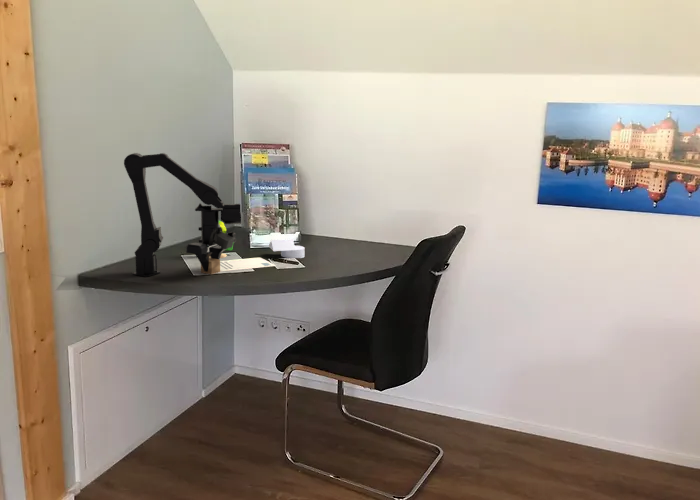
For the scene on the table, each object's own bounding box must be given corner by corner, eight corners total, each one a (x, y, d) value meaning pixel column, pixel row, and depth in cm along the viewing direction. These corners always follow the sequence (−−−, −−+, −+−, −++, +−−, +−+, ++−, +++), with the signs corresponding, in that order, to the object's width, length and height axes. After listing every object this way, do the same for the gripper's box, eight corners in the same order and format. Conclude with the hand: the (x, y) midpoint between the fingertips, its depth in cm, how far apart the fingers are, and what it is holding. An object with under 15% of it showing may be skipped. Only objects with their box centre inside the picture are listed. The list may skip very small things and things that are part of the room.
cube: (211, 275, 208) (211, 261, 207) (201, 273, 210) (200, 260, 209) (220, 272, 212) (220, 259, 211) (209, 270, 214) (209, 257, 213)
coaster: (217, 260, 230) (217, 258, 229) (197, 257, 233) (197, 256, 233) (231, 255, 238) (231, 254, 237) (211, 253, 241) (211, 251, 241)
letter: (219, 272, 212) (219, 271, 212) (205, 263, 225) (205, 262, 225) (276, 266, 223) (276, 265, 223) (260, 258, 235) (260, 257, 235)
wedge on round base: (273, 259, 233) (307, 258, 238) (273, 242, 232) (307, 240, 236) (268, 254, 242) (301, 253, 246) (268, 237, 240) (301, 236, 245)
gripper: (212, 230, 196) (213, 278, 199) (246, 222, 213) (246, 267, 216) (184, 227, 200) (185, 274, 204) (219, 219, 217) (219, 263, 220)
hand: (210, 269), depth 211 cm, fingers closed on cube, 4 cm apart
